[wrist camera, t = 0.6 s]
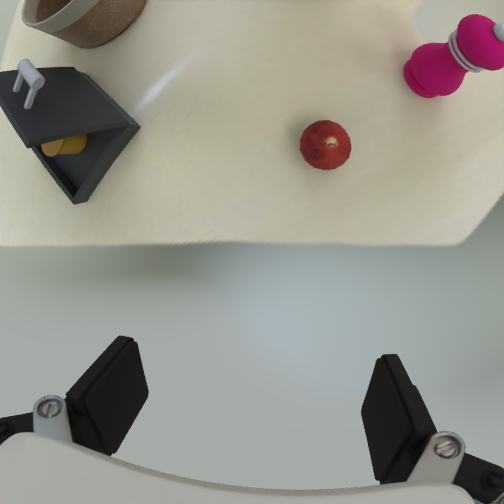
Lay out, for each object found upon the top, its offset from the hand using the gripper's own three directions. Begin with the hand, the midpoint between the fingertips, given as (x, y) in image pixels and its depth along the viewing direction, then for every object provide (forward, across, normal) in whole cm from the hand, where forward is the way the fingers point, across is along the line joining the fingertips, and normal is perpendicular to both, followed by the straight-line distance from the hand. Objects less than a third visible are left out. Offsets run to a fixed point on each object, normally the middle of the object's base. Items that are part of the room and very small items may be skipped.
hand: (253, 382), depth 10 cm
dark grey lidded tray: (+29, +30, -14) cm, 44 cm away
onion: (+29, -5, -11) cm, 32 cm away
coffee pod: (+28, +30, -14) cm, 44 cm away
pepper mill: (+29, -20, -23) cm, 42 cm away
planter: (+29, +28, -37) cm, 55 cm away
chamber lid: (+18, +26, -18) cm, 36 cm away
